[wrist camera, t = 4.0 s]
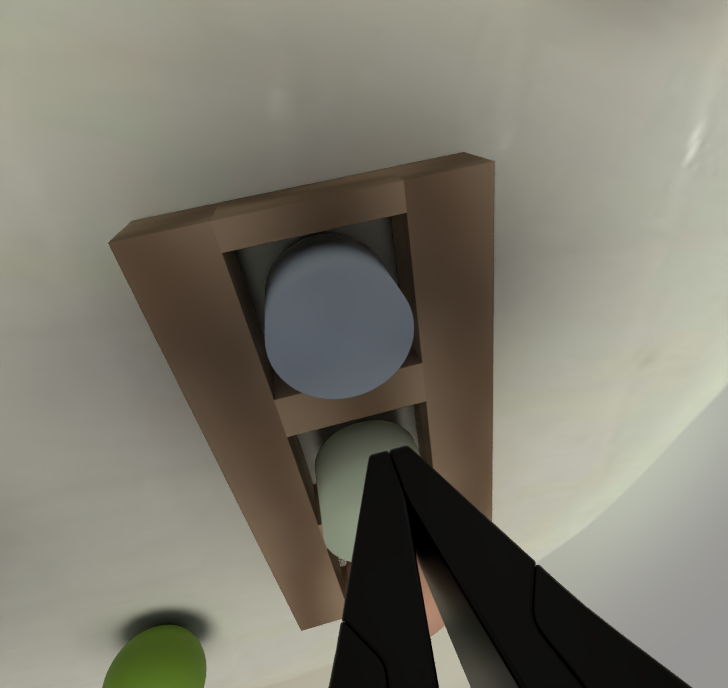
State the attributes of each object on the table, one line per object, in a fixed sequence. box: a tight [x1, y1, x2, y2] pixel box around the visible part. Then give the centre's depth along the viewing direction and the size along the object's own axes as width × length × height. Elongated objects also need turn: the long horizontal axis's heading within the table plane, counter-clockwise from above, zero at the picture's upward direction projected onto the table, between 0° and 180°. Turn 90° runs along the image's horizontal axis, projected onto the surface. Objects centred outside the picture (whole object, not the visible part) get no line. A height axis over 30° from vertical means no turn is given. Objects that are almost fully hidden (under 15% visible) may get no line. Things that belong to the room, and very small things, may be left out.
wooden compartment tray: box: [108, 152, 495, 631], centre depth 20 cm, size 12×24×2 cm, turn 9°
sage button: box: [315, 420, 421, 562], centre depth 18 cm, size 5×5×4 cm
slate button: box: [265, 234, 414, 399], centre depth 15 cm, size 5×5×4 cm
